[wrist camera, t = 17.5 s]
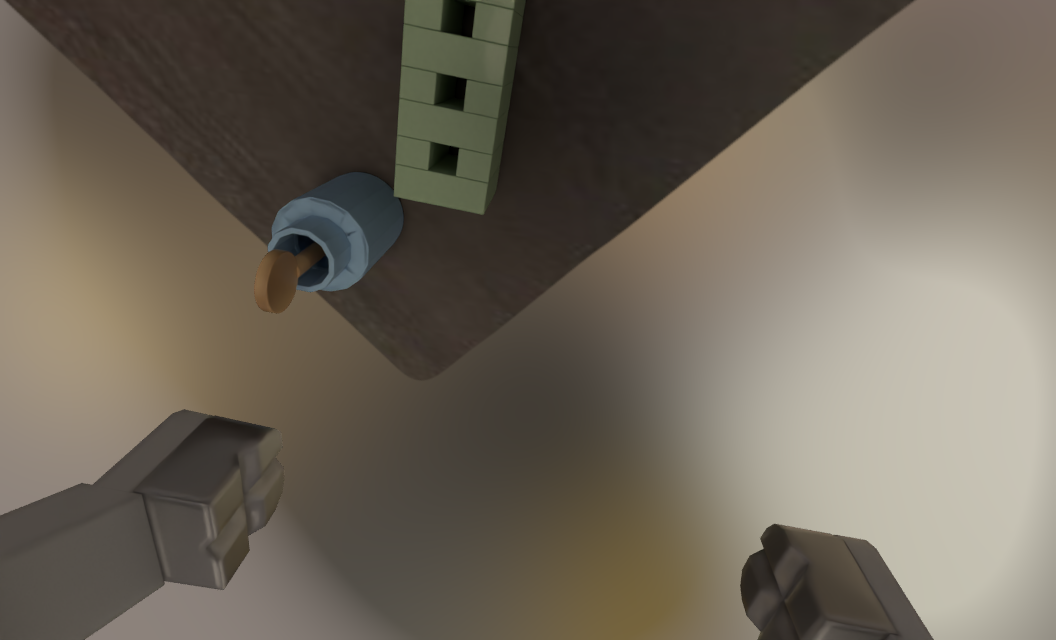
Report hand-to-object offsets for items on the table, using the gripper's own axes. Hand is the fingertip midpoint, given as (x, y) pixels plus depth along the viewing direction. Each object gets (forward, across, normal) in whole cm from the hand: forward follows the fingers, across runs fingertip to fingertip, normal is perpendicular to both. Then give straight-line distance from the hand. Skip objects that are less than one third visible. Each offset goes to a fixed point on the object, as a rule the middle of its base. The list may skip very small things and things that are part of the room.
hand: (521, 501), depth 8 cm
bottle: (+37, +16, +9) cm, 41 cm away
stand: (+37, +8, -3) cm, 38 cm away
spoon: (+37, +16, +9) cm, 41 cm away
